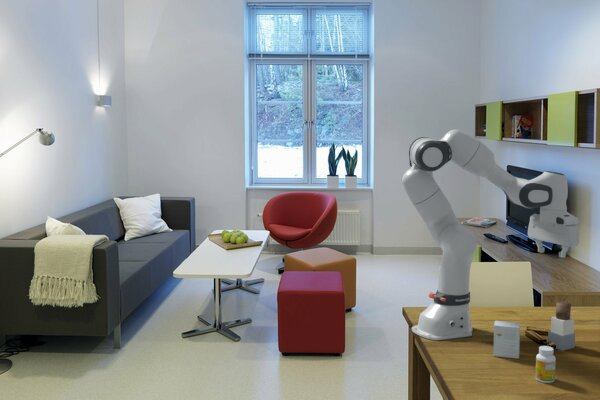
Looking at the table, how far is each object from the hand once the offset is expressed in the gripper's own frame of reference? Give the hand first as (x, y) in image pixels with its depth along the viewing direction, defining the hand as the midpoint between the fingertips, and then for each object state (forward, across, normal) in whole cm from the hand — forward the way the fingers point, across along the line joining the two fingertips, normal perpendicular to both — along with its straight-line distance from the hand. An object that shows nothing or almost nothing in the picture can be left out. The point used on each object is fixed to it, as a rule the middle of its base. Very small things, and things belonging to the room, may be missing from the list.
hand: (551, 254), depth 228 cm
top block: (+23, +14, -10) cm, 29 cm away
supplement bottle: (+28, +32, -36) cm, 56 cm away
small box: (+28, +12, -32) cm, 44 cm away
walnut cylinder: (+18, +14, -10) cm, 25 cm away
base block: (+28, +14, -10) cm, 33 cm away
